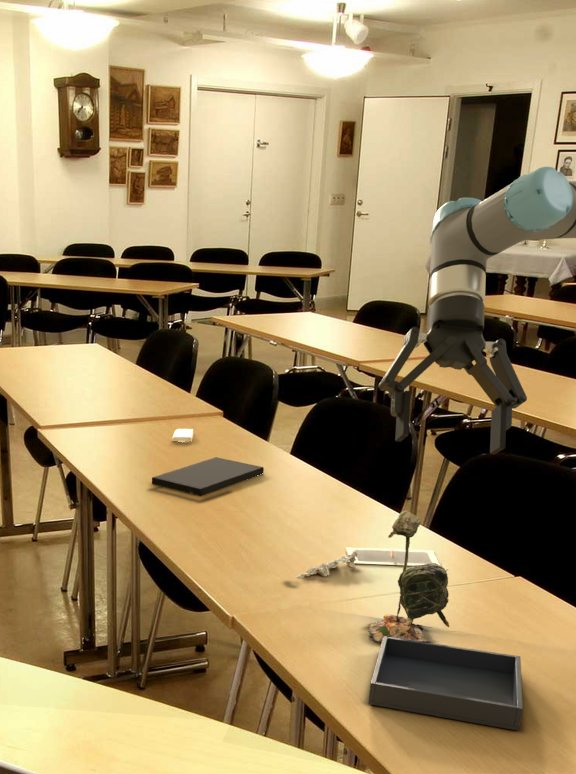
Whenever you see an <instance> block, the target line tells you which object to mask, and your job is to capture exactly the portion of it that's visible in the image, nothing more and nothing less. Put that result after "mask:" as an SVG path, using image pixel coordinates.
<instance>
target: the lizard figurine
mask: <svg viewBox="0 0 576 774" xmlns="http://www.w3.org/2000/svg"><path fill="white" fill-rule="evenodd" d="M357 555H358V554H357V552H355V551H353V552H352V554H351V555H348V553H347V554H342V555H341V556H340V557H339V558H338V559H334V560H332V561H328V562H326V563H322V564H321V565H318V566H317V567H316V566H311V567H310V568H308V569H307V570H306V572H305V573H301V574H298V575H295V578H297V579H303V578H305V577H311V576H313V575H317V574H319V575H320V576H322V577H327V576H330V570H331V569H334V568H337V567H338V566H339V564H340V563H342V564H346V565H347V566H349V567H350V568H357V567H356V564H355V563H354V561H355V560H356V559H355V557H357Z"/></svg>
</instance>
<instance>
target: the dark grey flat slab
mask: <svg viewBox="0 0 576 774" xmlns="http://www.w3.org/2000/svg"><path fill="white" fill-rule="evenodd" d="M264 469H265V468H264V466H260V465H256V464H250V463H245V462H241V461H236V460H231V459H227V458H222V457H217V456H215V457H211V458H210V459H205V460H202V461H200V462H196V463H193V464H190V465H188V466H183V467H180V468H178V469H177V468H176V469H174V470H171V471H168V472H165V473H162V474H159V475H155V476H152V477H151V485H155V486H158V487H163V488H167V489H170V490H174V491H178V492H182V493H185V494H191V495H195V496H198V497H202V496H206V495H209V494H211V493H214V492H217V491H221V490H222V489H225V488H228V487H231V486H234V485H236V484H240V483H242V482H244V481H245V482H246V481H248V480H250V478H251V479H253V478H252V477H254V478H256V477H258V476H257V475H259V476H261V475H260V474H262V473H263V474H264ZM263 474H262V475H263ZM255 476H256V477H255ZM247 479H248V480H247Z"/></svg>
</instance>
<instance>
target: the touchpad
mask: <svg viewBox="0 0 576 774" xmlns="http://www.w3.org/2000/svg"><path fill="white" fill-rule="evenodd" d="M345 549H346V553H347V554H348V555H351V554H352V552H353V551H355V552H357V554H358V555H357V557H355V559H356V560H355V561H354V564H363V565H386V566H387V565H388V566H389V565H391V566H404V562H405V552H406V550H405V549H403V548H402V549H400V548H378V547H377V548H376V547H375V548H374V547H373V548H371V547H349V546H347V547H345ZM408 551H409V552H408V562H407V566H409V567H413V566H415V565H424V564H430V563H436V564H438V565H440V566H441V564H440V561H439V560H438V558H437V556H436V554H435V552H434V550H428V549H427V550H426V549H408Z"/></svg>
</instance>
